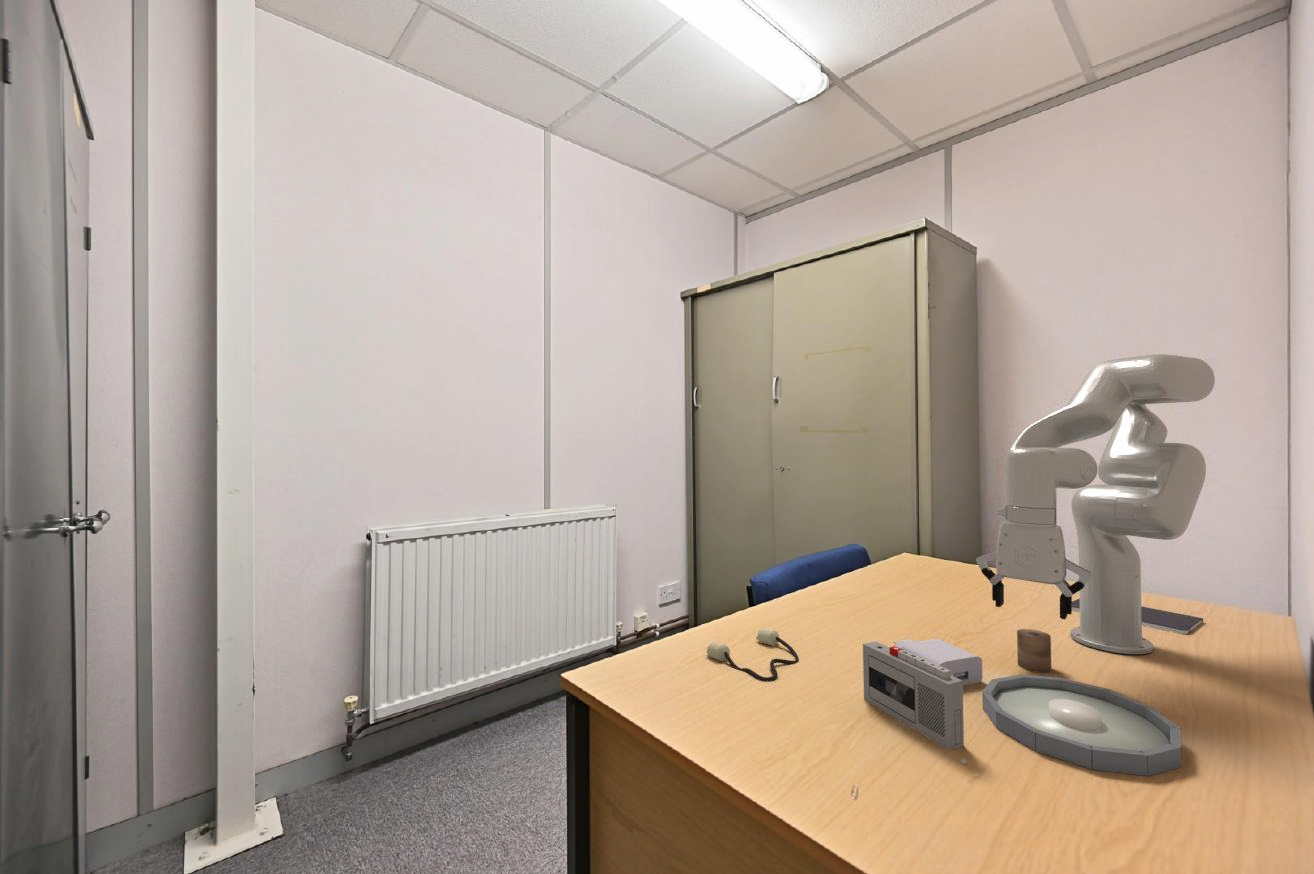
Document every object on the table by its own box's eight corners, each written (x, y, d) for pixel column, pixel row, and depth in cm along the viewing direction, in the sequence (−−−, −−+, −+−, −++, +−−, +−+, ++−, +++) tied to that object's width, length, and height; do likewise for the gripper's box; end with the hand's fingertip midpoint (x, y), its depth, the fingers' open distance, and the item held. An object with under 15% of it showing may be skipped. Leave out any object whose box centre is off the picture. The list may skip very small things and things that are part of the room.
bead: (1020, 658, 101) (1020, 626, 101) (1053, 666, 98) (1052, 633, 98) (1015, 667, 97) (1014, 634, 97) (1048, 675, 94) (1048, 640, 94)
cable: (824, 664, 101) (823, 645, 101) (761, 688, 92) (761, 668, 92) (764, 639, 114) (764, 623, 114) (704, 658, 105) (704, 640, 105)
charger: (916, 650, 106) (982, 683, 92) (877, 656, 104) (939, 691, 89) (916, 626, 106) (982, 655, 92) (877, 632, 104) (938, 662, 89)
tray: (1003, 678, 93) (1003, 663, 93) (1180, 723, 78) (1180, 706, 78) (968, 729, 77) (967, 711, 77) (1181, 798, 62) (1181, 776, 62)
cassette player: (863, 699, 87) (862, 637, 87) (876, 696, 88) (875, 635, 88) (949, 751, 72) (948, 676, 72) (963, 746, 73) (962, 673, 73)
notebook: (1203, 625, 118) (1085, 601, 136) (1203, 617, 118) (1085, 595, 136) (1187, 637, 111) (1064, 611, 129) (1186, 630, 111) (1064, 604, 129)
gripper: (971, 513, 101) (971, 605, 100) (1089, 523, 89) (1089, 627, 88) (981, 510, 106) (981, 597, 106) (1094, 519, 94) (1094, 617, 94)
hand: (1030, 611), depth 97 cm, fingers open, 9 cm apart
